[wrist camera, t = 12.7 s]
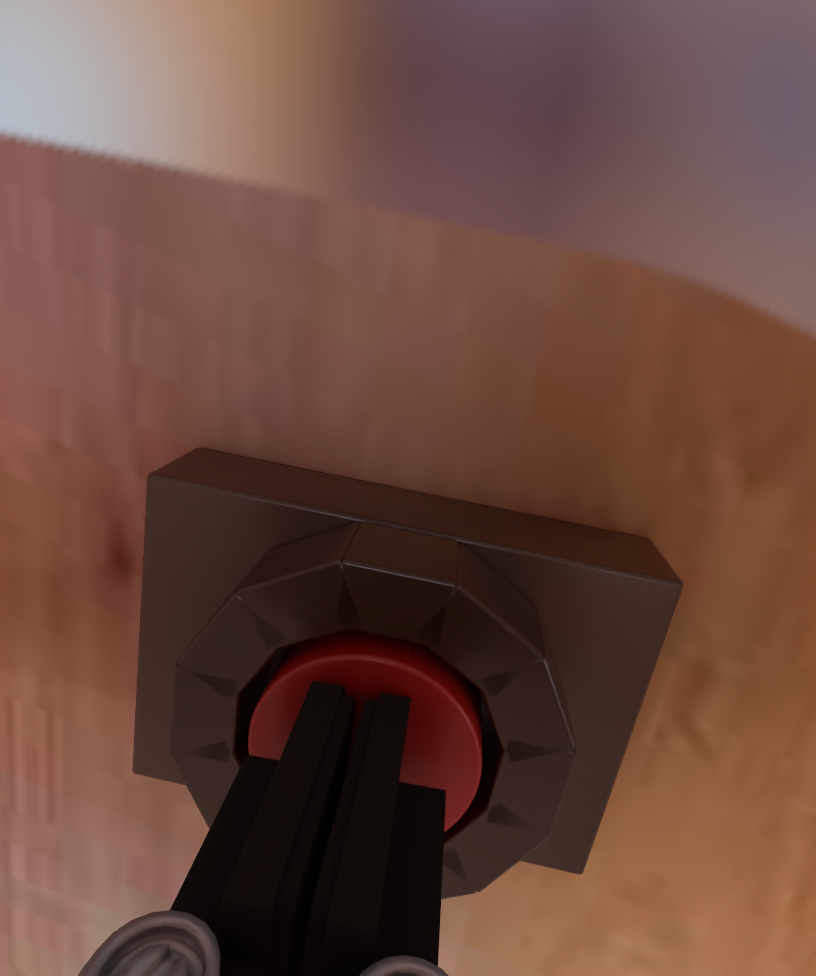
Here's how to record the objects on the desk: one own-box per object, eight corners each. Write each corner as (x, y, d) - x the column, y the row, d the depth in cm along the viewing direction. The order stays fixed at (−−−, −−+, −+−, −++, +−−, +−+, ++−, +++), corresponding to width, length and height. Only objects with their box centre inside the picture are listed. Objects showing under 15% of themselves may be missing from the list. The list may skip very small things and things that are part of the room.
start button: (501, 629, 11) (506, 686, 10) (458, 800, 13) (455, 876, 11) (290, 584, 12) (259, 632, 10) (267, 757, 13) (235, 826, 11)
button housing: (652, 538, 13) (725, 635, 9) (568, 797, 15) (599, 963, 11) (196, 446, 14) (87, 503, 10) (176, 710, 16) (81, 843, 12)
